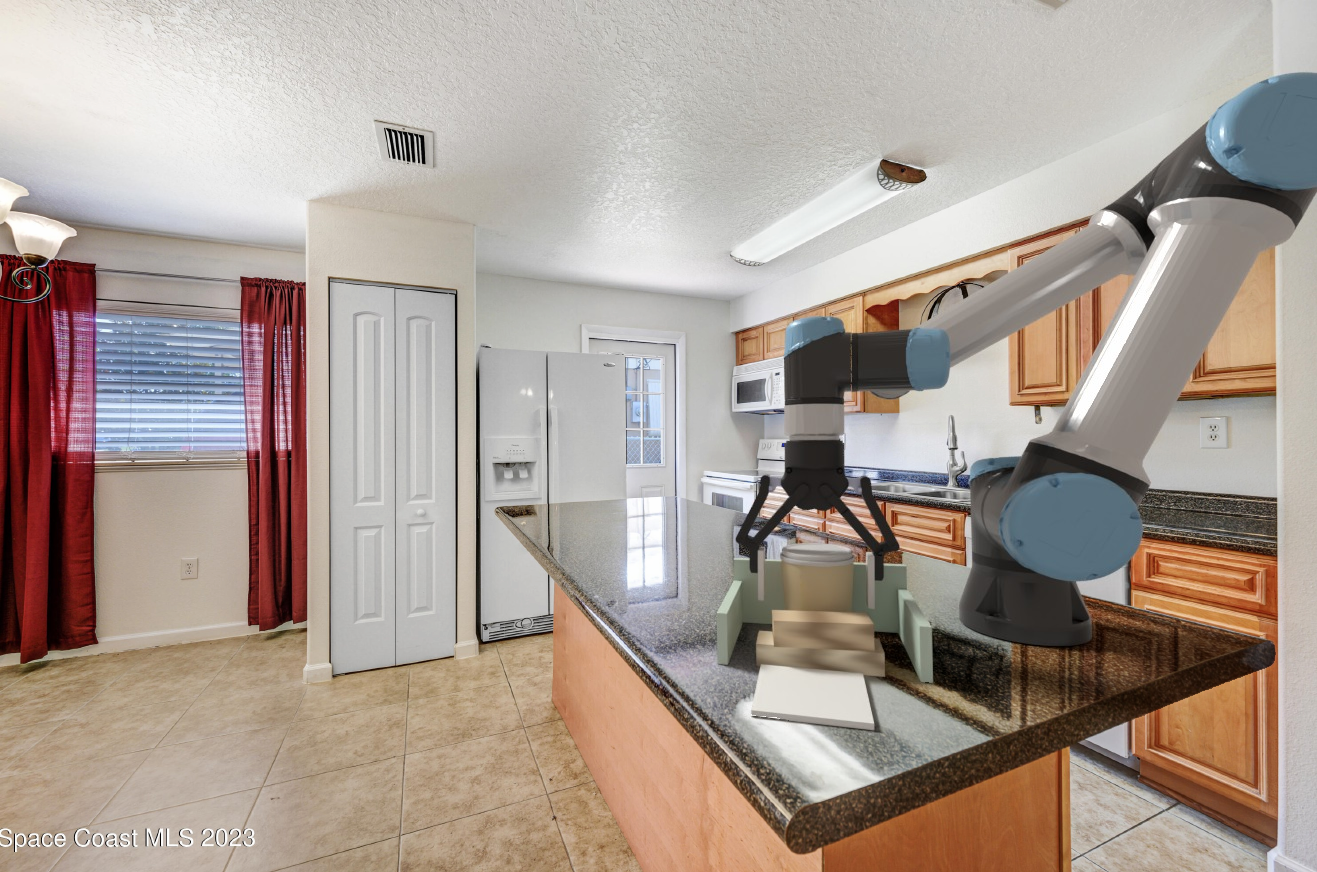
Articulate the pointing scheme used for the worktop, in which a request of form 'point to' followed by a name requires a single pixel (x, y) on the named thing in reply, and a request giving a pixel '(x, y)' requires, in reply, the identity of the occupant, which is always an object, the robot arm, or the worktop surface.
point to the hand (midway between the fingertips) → (814, 601)
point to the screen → (889, 614)
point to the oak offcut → (822, 630)
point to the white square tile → (813, 696)
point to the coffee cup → (817, 577)
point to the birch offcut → (820, 657)
